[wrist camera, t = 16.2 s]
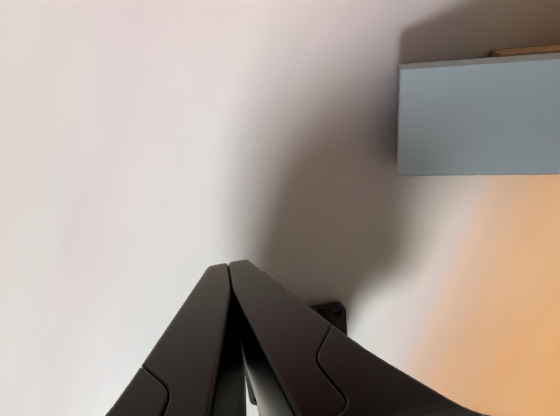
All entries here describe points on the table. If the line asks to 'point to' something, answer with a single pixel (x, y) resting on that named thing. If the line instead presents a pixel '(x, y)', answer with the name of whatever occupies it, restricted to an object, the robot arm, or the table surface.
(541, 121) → the domino
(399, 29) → the table surface
